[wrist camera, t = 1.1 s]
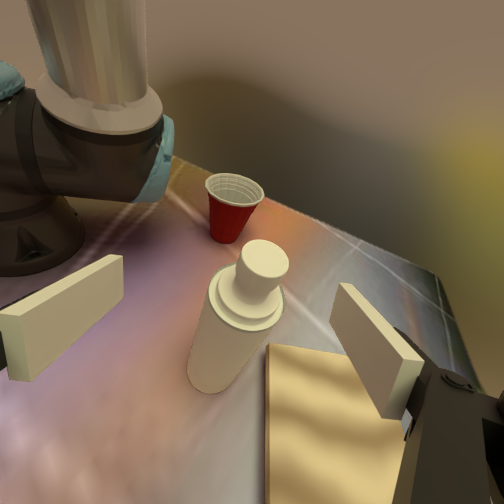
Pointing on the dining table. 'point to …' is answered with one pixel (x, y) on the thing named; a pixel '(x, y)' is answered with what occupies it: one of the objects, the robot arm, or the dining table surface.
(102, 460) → the dining table surface
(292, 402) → the stand
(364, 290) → the dining table surface
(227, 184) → the plastic cup
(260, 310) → the spray bottle
